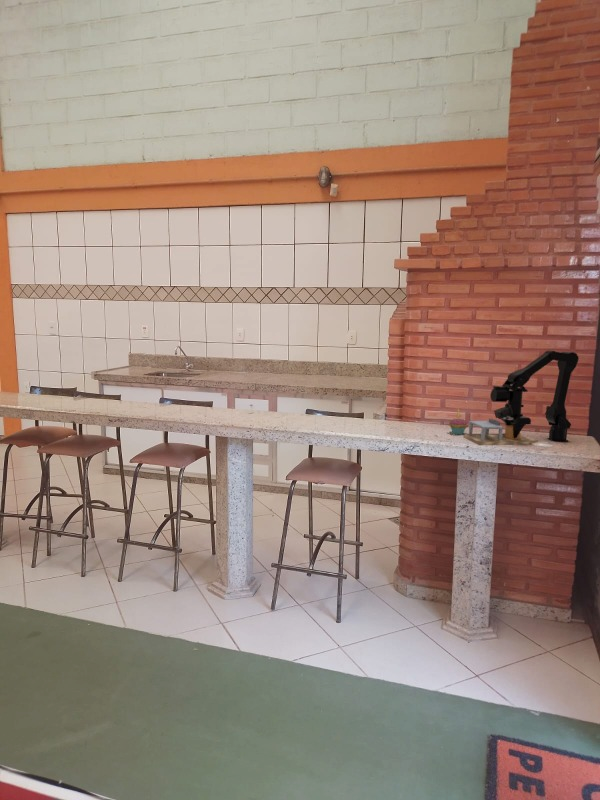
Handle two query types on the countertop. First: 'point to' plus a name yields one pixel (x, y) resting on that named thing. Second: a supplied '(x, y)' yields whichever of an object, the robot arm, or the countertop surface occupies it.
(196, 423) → the countertop surface
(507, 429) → the block
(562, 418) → the robot arm
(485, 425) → the grey toy table
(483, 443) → the board
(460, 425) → the cupcake
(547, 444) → the dish
